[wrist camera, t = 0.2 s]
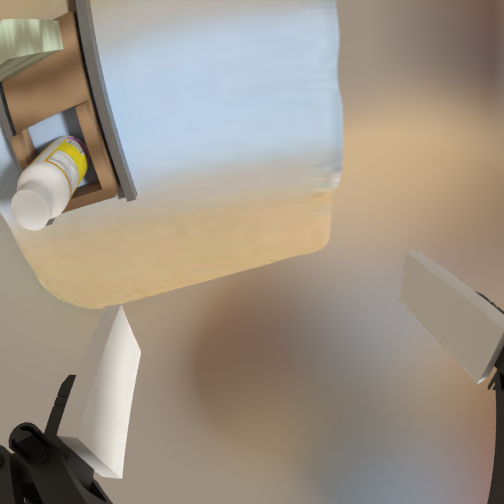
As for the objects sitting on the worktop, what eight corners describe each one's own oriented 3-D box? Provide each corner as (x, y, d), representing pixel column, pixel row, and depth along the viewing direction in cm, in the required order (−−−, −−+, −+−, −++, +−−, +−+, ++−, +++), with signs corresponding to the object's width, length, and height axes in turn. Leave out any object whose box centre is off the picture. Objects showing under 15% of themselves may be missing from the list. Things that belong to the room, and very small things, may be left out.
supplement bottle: (51, 181, 31) (12, 239, 22) (45, 136, 27) (-5, 183, 18) (93, 178, 33) (63, 238, 24) (90, 132, 29) (49, 177, 20)
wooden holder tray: (0, 53, 17) (-65, 73, 8) (74, 11, 18) (18, 4, 8) (52, 207, 34) (18, 270, 24) (119, 185, 34) (97, 249, 25)
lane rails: (-15, -6, 9) (-21, -6, 8) (84, -63, 11) (80, -66, 10) (49, 220, 35) (45, 226, 34) (137, 193, 36) (135, 199, 35)
